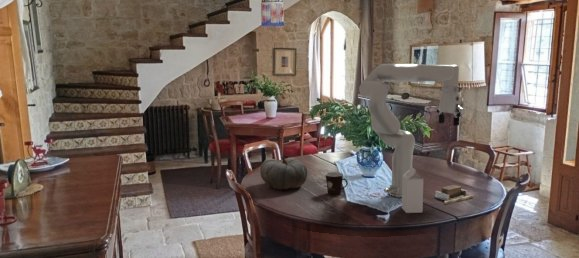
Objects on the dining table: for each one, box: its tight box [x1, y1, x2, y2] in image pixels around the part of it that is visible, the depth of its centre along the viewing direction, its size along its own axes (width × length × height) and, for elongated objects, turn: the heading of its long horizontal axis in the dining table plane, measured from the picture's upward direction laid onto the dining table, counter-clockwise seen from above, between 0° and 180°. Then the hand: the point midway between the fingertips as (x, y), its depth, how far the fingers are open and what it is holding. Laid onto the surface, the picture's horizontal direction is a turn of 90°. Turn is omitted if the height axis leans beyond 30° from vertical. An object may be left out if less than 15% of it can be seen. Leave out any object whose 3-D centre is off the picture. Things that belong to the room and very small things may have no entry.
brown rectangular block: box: [441, 184, 462, 198], centre depth 209 cm, size 4×9×5 cm, turn 121°
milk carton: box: [401, 166, 424, 214], centre depth 190 cm, size 7×7×19 cm
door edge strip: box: [443, 194, 474, 205], centre depth 204 cm, size 18×1×1 cm, turn 118°
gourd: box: [260, 155, 308, 191], centre depth 231 cm, size 25×25×17 cm
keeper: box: [434, 188, 468, 201], centre depth 209 cm, size 13×8×3 cm, turn 118°
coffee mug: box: [325, 171, 349, 197], centre depth 215 cm, size 12×9×10 cm
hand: (448, 124), depth 219 cm, fingers open, 9 cm apart
